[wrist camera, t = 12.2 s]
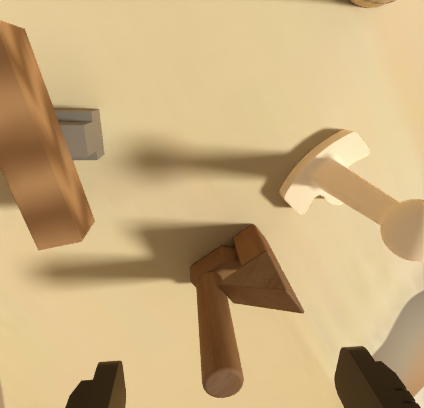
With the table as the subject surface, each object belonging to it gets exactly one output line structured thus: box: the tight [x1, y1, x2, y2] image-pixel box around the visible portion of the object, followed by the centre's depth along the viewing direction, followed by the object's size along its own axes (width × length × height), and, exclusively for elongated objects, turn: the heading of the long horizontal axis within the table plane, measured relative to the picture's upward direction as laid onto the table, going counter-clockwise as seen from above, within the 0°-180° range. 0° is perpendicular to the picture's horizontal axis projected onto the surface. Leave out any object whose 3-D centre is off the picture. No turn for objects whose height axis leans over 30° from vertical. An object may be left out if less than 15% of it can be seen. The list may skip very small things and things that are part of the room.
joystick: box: [279, 130, 424, 262], centre depth 30 cm, size 11×8×20 cm
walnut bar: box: [0, 21, 95, 250], centre depth 27 cm, size 18×4×4 cm, turn 10°
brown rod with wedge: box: [190, 224, 304, 398], centre depth 34 cm, size 4×11×18 cm, turn 126°
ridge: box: [54, 109, 104, 160], centre depth 31 cm, size 5×8×6 cm, turn 89°
